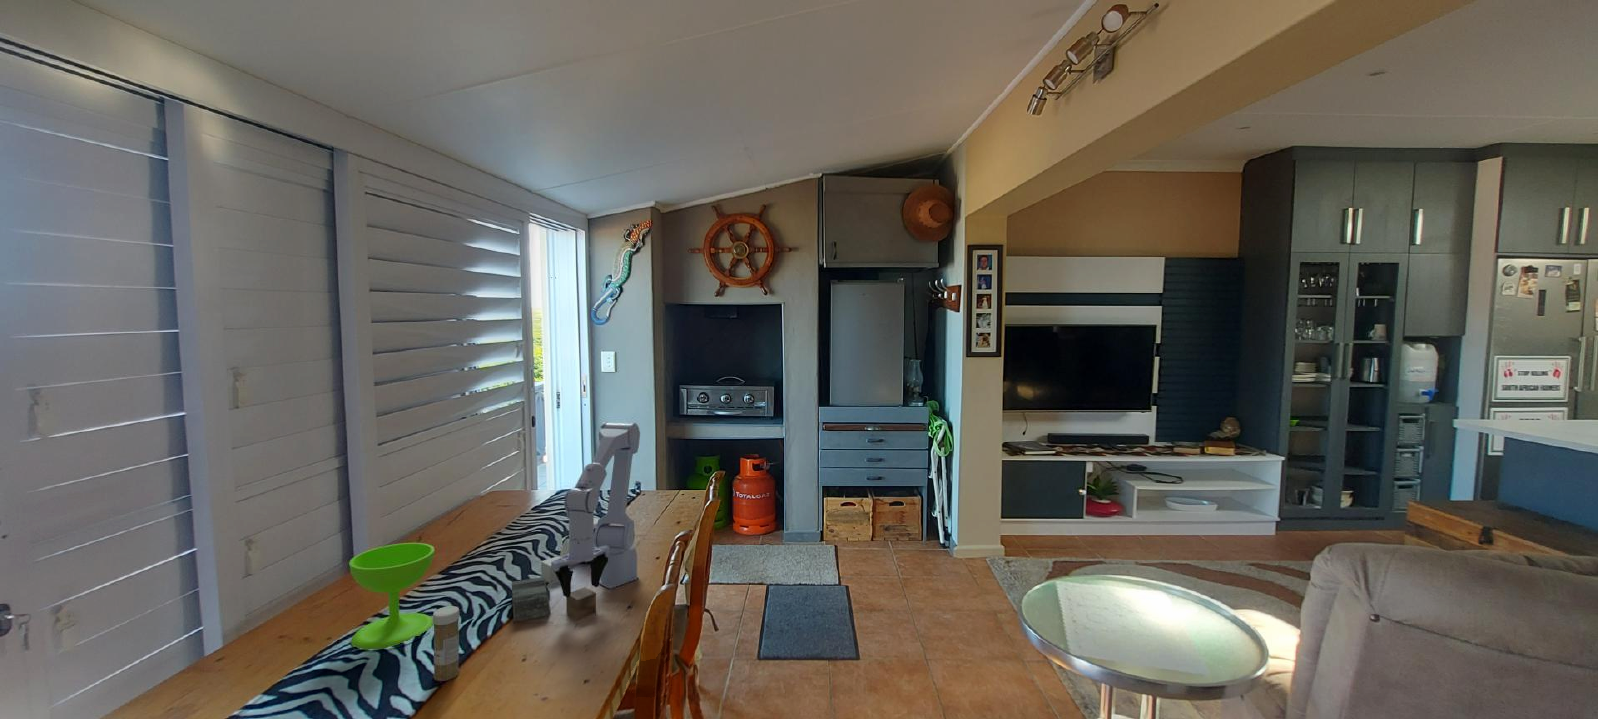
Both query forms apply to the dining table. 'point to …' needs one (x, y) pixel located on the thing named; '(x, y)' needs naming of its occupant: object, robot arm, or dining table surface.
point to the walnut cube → (581, 603)
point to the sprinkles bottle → (446, 643)
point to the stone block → (530, 599)
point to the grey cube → (548, 571)
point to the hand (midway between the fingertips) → (581, 590)
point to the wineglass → (392, 591)
